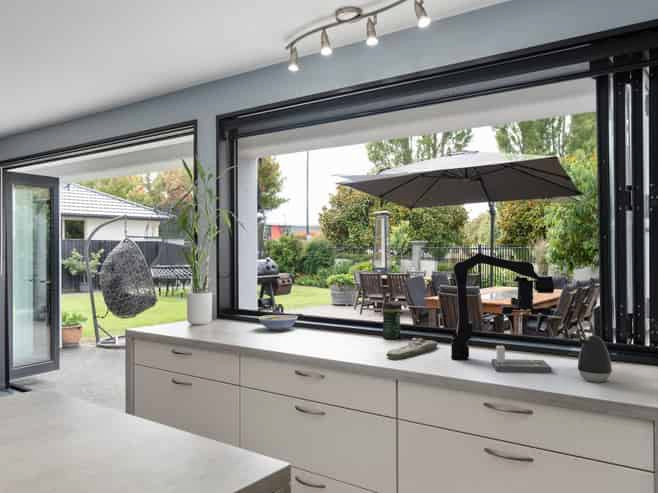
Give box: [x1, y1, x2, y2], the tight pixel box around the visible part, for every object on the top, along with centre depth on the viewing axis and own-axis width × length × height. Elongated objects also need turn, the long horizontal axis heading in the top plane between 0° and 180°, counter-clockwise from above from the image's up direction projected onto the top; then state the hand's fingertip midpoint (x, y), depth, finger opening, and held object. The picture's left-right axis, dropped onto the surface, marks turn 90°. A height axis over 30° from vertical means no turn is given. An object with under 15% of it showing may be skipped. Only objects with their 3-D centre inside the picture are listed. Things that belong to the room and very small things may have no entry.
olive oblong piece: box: [385, 337, 438, 361], centre depth 220 cm, size 35×5×10 cm
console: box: [491, 358, 552, 374], centre depth 188 cm, size 19×12×2 cm, turn 80°
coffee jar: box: [382, 301, 402, 340], centre depth 256 cm, size 10×8×19 cm
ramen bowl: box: [258, 313, 303, 332], centre depth 289 cm, size 25×23×8 cm
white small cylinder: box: [495, 345, 506, 363], centre depth 190 cm, size 3×4×6 cm, turn 170°
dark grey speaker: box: [577, 335, 613, 383], centre depth 170 cm, size 10×10×15 cm
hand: (525, 331), depth 202 cm, fingers open, 9 cm apart
